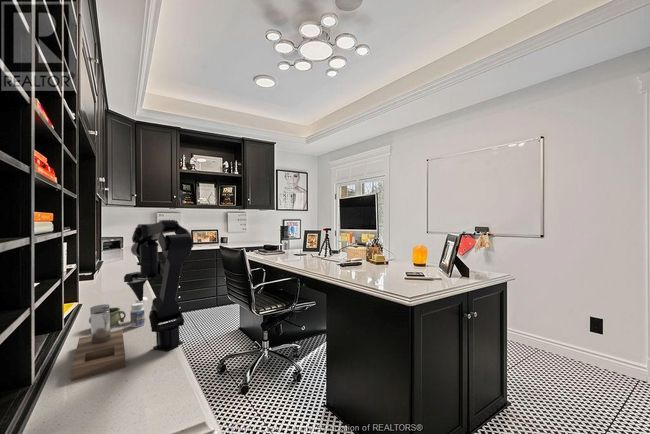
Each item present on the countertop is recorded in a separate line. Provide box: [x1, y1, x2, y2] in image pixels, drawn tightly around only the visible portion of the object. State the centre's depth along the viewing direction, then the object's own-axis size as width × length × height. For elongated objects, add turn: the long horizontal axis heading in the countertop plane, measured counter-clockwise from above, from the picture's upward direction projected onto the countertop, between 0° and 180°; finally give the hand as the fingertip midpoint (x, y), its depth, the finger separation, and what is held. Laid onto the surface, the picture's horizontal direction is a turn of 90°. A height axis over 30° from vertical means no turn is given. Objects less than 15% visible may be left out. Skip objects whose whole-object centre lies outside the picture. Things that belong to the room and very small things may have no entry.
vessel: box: [88, 306, 127, 330], centre depth 122 cm, size 12×9×6 cm
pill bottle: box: [129, 303, 146, 328], centre depth 122 cm, size 5×5×8 cm
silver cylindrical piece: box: [89, 303, 111, 344], centre depth 100 cm, size 5×5×11 cm
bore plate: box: [70, 329, 126, 381], centre depth 96 cm, size 26×12×3 cm, turn 35°
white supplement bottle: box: [134, 296, 149, 320], centre depth 130 cm, size 4×5×10 cm
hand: (150, 301), depth 112 cm, fingers open, 9 cm apart
